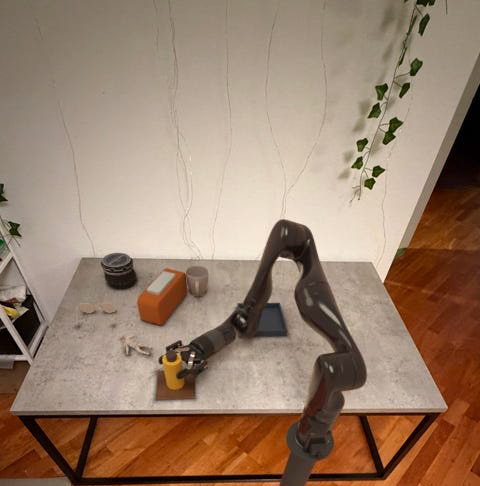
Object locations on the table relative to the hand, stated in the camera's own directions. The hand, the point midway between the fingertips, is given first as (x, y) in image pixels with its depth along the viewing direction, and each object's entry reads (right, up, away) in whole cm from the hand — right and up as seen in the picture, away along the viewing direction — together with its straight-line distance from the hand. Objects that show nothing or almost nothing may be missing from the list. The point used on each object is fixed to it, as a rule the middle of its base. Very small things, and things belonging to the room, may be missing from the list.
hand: (167, 369), depth 101 cm
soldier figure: (-15, +9, +17) cm, 24 cm away
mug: (+4, +35, +38) cm, 52 cm away
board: (+1, -4, +8) cm, 9 cm away
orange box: (-8, +29, +32) cm, 44 cm away
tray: (+30, +22, +30) cm, 48 cm away
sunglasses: (-32, +22, +26) cm, 47 cm away
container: (-28, +42, +41) cm, 65 cm away
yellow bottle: (+1, -4, +7) cm, 8 cm away
